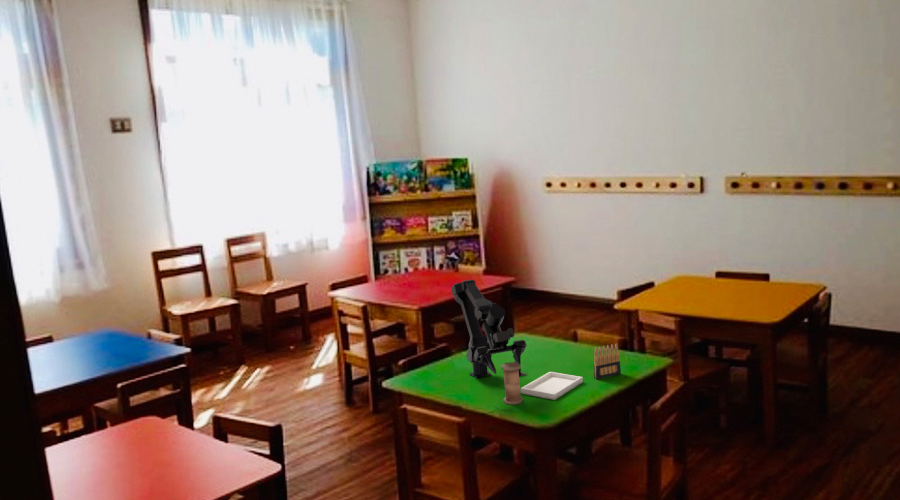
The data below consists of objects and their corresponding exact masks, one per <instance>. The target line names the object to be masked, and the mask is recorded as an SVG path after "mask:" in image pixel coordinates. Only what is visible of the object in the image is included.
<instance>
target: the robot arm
mask: <svg viewBox="0 0 900 500" xmlns="http://www.w3.org/2000/svg"><path fill="white" fill-rule="evenodd" d="M450 290H451V295H452V296H453V298H454V300H455V302H456V303H458V304H459V305H460V306H461V311H462V313H463V314H462V315H463V318H464V321H465V324H466V329H467V331H468V335H469V338H470V339H469V343H468V349H467V352H466V360H467V361H468V362H469V363H471V365H472V372H469V375H470V376H472V377H475V378H476V379H480V378H483V377H489V376H491V375H492V373H494V375H496V374H497V369H496V366H495V364H494V362H493V360H492V356H493V355H496V354H500V353H506V352H511V353H512V357H513V359H514V360H513V361H514V362H516V363H519V364H520V365H521V359H522V357H521V356H522V354H523V353H524V352H525V349H526V348H527V342H526V341H525V339H518V340H513V343H512V344H511V345H510V344H509V340H511V338H514V337H515V333H514V330H513V327H512V328H511V327H509V328H507V329H506V330H502V329H501V325H502V323H503V320H504V319H505V318H504V317H505V316H506V309H504V307H502V306H501V305H498V304H497V303H496V302H492V301H491V300H489V299H486V298H485V297H484V295H483V293H482V292H481V290H480V289H479V287H478V286H477V284H476V281H475V279H465V280H463V281H461V282H457V283H454V284H453V286H451V288H450ZM479 321H483V323H482V331H484V333H485V335H484V334H483V333H482V331H481V327H480V324H479ZM521 366H522V365H521ZM488 369H489V370H491V372H492V373H491V372H490V371H489V370H488Z"/></svg>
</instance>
